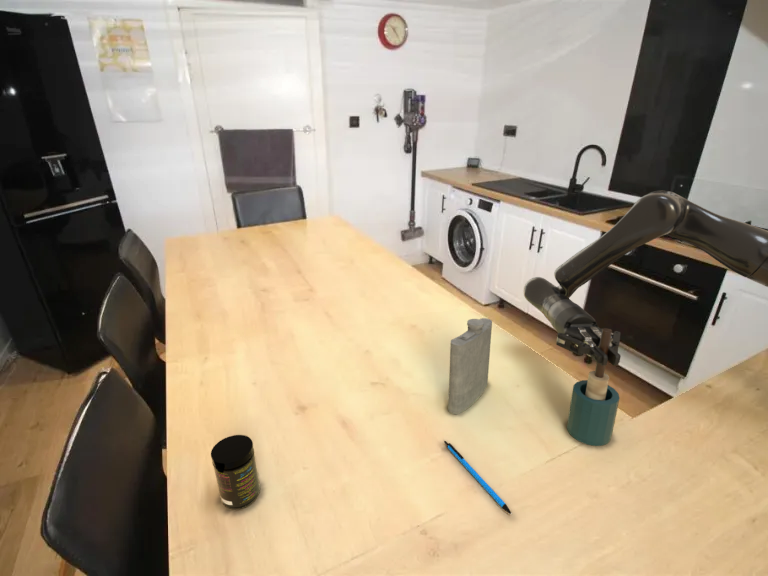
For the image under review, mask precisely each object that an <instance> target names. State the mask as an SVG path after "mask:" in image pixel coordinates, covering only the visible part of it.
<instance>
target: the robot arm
mask: <svg viewBox="0 0 768 576" xmlns="http://www.w3.org/2000/svg"><path fill="white" fill-rule="evenodd" d="M664 236H668V237H671V238H674V239H677V240H679V241H682V242H684V243H687V244H690V245H692V246H694V247H695V248H698V250H699V249H700V250H701V251H703V252H704V253H706V254H707V255H708V256H710V257H711V258H713V259H714V260H715V261H717V262H718V263H720V264H721V265H723V266H724V267H725V268H727V269H728V270H731V271H732V272H734V273H736V274H738V275H740V276H742V277H743V278H747V279H748V280H751V281H753V282H755V283H757V284H760V285H762V286H764V287H767V288H768V230H766V229H764V228H761V227H758V226H756V225H755V226H754V225H752V224H749V223H746V222H742V221H739V220H736V219H732V218H729V217H726V216H723V215H720V214H718V213H715V212H713V211H711V210H708V209H707V208H704V207H702V206H701V205H698V204H696V203H694V202H692V201H690V200H688V199H687V198H685V197H683V196H681V195H679V194H677V193H675V192H673V191H669V190H665V189H663V190H661V189H660V190H655V191H651V192H649V193H647V194H644V195H643V196H641V197H640V198H638V199H637V200H636V201H635V202H634V204H633V205H632V206H631V208H630V209H629V210H628V211H627V212H626V213H625V215H623V216H622V217H621V218H620V219H619V221H617V222H616V224H614V225H613V226H612V227H611V228H610V229H608V230H607V232H605V233H604V234H602V235H601V236H600V237H598V238H597V239H595V240H594V241H593V242H591V243H589V244H588V245H587V246H585V247H583V248H582V249H580V250H579V251H578V252H576V253H575V254H573V255H572V256H571V257H569V258H568V259H566V260H565V261H564V262H563V263H561V264H560V265H559V266H558V267H557V268H555V270H554V273H553V276H554V279H555V280H556V282H557V284H558V286H556V285H555V284H553V283H552V282H550V281H549V280H547V279H546V278H544V277H541V276H535V277H532V278H530V279H528V281H526V282H525V284H524V286H523V296H524V299H525V300H526V301H527V302H528V303H529V304H531V305H532V306H533V307H534V308H536V309H537V310H538V311H540V313H542V314H543V316H544V318H546V320H547V321H548V322H549V324H550V325H551V327H552V328H553V329H554V330H555V332H556V333H557V334H556V335H557V336H556V343H555V344H556V346H558V347H560V348H562V349H564V350H567V351H569V352H571V353H574V354H575V355H578V356H582V357H583V356H584V354H585V355H587V357H590V358H592V359H593V360H594V362H596V363H599V364H600V365H601V366H605V367H606V366H608V365H607V364H608V362H609V363H610V364H611V365H612V366H619V364H620V362H621V354H620V353H619V347H620V343H621V334H622V333H621V331H617V330H614V331H613V332H612V333H611V339H610V344H609V350H608V355H606V354H605V353H604V352H603V351H602V350H601V349H600V348H599V346H600V340H601V334H602V329H603V328H600V327H599V325H598V323H597V321H596V319H595V318H594V317H593V316H592V315H591V314H589V312H587V311H586V310H585V309H584V308H583V307H581V306H580V305H579V304H577V303H576V302H574V301H573V300H571V299H570V298H571V297H572V296H573V295H574V293H575V292H576V291H577V290H578V289H579V288H581V287H582V286H584V285H585V284H587V283H589V282H590V281H591V280H592V279H594V278H595V277H597V276H599V274H601V273H602V272H604V271H605V270H606V269H607V268H608V267H610V266H611V265H613V264H614V263H615V262H616V261H618V260H619V259H621V258H622V257H624V256H625V255H627V254H629V253H631V252H632V251H634V250H636V249H637V248H639V247H642V246H643V245H645V244H647V243H650V242H651V241H654V240H657V239H658V238H661V237H664ZM575 346H576V347H575Z"/></svg>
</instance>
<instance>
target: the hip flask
mask: <svg viewBox="0 0 768 576" xmlns="http://www.w3.org/2000/svg"><path fill="white" fill-rule="evenodd" d="M466 327H467V330H466V331H465V332H463V333H462V334H460V335H458V336H456V337H455V338H454V337H453V338H452V339H451V340H450V343H449V344H450V347H449V372H448V373H449V375H448V379H449V380H448V402H447V403H448V404H447V411H448V412H449V413H450V414H452V415H461V414H462V413H463V412H465V411H466V410H468V409H469V408H470V407H471V406H473V405H474V404H475V403H476V402H477V401H478V400H479V398H480V397H482V395H483V394H484V393H485V391H486V389H487V388H488V384H489V383H488V381H489V368H490V355H491V343H492V328H493V320H491V319H490V318H486V317H483V318H470V319H468V320H467V321H466Z"/></svg>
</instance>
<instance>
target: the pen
mask: <svg viewBox="0 0 768 576" xmlns="http://www.w3.org/2000/svg"><path fill="white" fill-rule="evenodd" d="M443 443H444V444H445V445H446V448H447V449H448V450H449V452H451V454H453V456H454V457H455V458H456V459H457V460H458V461H459V462H460V463H461V465H463V467H464V468H465V469H466V470H467V471H468V473H470V474H471V476H473V478H475V480H476V481H477V482H478V483H479V484H480V486H482V487H483V489H484V490H485V491H486V492H487V493H488V494H489V495H490V496H491V498H493V499H494V501H495V502H496V503H497V504H498V505H499V507H501V508H502V509H503V510H504V511H506V512H507V513H509V514H510V515H513V513H512V511H511V510H510V508H509V506H508V505H507V503H505V501H504V500H503V499H502V498H501V497H500V496H499V495H498V493H497V492H495V491H494V489H492V487H491V486H490V485H489V484H488V483H487V482H486V481H485V480H484V479H483V477H482V476H481V475H480V474H479V473H478V472H477V471H476V470H475V469H474V468H473V467H472V466H471V465H470V463H469V462H467V460H466V459H465V457H464V456H463V455H462V454H461V453H460V452H459V451H458V450H457V449H456V448H455V446H453V444H451V443H450V442H449V443H448V442H447V441H446V440H444V442H443Z"/></svg>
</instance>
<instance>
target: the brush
mask: <svg viewBox="0 0 768 576" xmlns="http://www.w3.org/2000/svg"><path fill="white" fill-rule="evenodd" d="M601 329H602V334H601V340H600V346H599V348H600V349H601V350H602V351H603V352H604V353H605V354H606V355H608V350H609V344H610V339H611V333H613V330H612V329H611V328H608V327H603V328H601ZM605 371H606V366H601V365H600V364H599V363H597V362H596V364H595V369H594V370H592V371H589V373H588V375H587V376H588V377H587V380H588V381H587V387H586V393H585V396H587V397H589V398H591V399H595V400H600V401H605V398H606V392H607V387H608V385H609V381H610V376H609V374H607V373H606V372H605Z"/></svg>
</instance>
